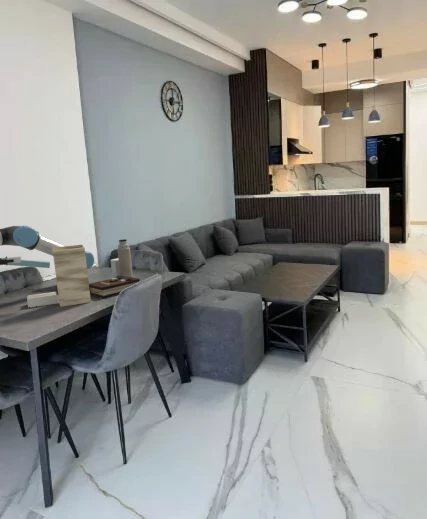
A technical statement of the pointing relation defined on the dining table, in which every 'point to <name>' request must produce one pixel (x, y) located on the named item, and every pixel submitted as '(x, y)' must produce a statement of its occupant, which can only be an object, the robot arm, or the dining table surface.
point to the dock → (42, 299)
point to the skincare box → (115, 267)
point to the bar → (31, 263)
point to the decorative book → (111, 286)
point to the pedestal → (71, 275)
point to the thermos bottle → (124, 259)
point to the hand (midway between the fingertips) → (20, 259)
